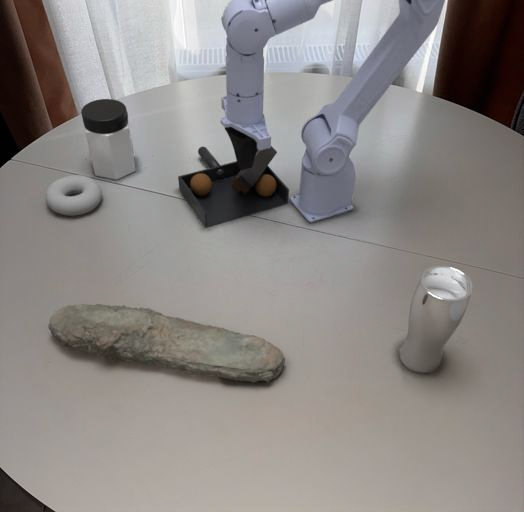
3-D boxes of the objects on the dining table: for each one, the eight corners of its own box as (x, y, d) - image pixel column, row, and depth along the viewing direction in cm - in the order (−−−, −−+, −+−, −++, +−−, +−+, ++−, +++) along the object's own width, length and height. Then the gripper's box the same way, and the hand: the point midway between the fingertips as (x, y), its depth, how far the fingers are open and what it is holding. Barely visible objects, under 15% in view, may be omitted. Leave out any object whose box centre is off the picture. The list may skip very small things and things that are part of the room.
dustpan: (288, 203, 108) (289, 189, 106) (205, 227, 103) (204, 213, 101) (238, 147, 120) (238, 133, 118) (162, 166, 115) (160, 152, 113)
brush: (278, 152, 109) (260, 167, 114) (266, 140, 108) (249, 155, 113) (253, 187, 104) (236, 200, 109) (240, 174, 103) (224, 188, 108)
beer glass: (446, 346, 86) (477, 271, 75) (440, 381, 82) (471, 307, 71) (400, 334, 88) (423, 258, 76) (391, 368, 84) (414, 293, 72)
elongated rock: (275, 405, 80) (287, 354, 87) (279, 381, 77) (292, 329, 83) (37, 352, 83) (67, 306, 90) (29, 326, 79) (61, 280, 86)
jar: (137, 178, 112) (128, 119, 103) (95, 182, 111) (81, 123, 102) (134, 153, 118) (124, 95, 109) (93, 157, 117) (80, 99, 108)
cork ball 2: (280, 179, 110) (279, 179, 106) (271, 199, 111) (271, 200, 107) (260, 170, 109) (259, 170, 106) (252, 190, 111) (251, 191, 107)
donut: (39, 215, 105) (91, 222, 103) (33, 199, 102) (86, 206, 101) (62, 184, 111) (111, 190, 110) (57, 168, 108) (108, 174, 107)
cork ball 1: (212, 180, 105) (206, 166, 107) (191, 186, 105) (186, 172, 107) (215, 196, 109) (209, 182, 111) (195, 202, 108) (189, 188, 110)
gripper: (202, 73, 92) (207, 151, 102) (241, 115, 83) (242, 195, 94) (243, 65, 94) (243, 142, 104) (284, 105, 85) (280, 185, 96)
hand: (245, 166), depth 99 cm, fingers closed
